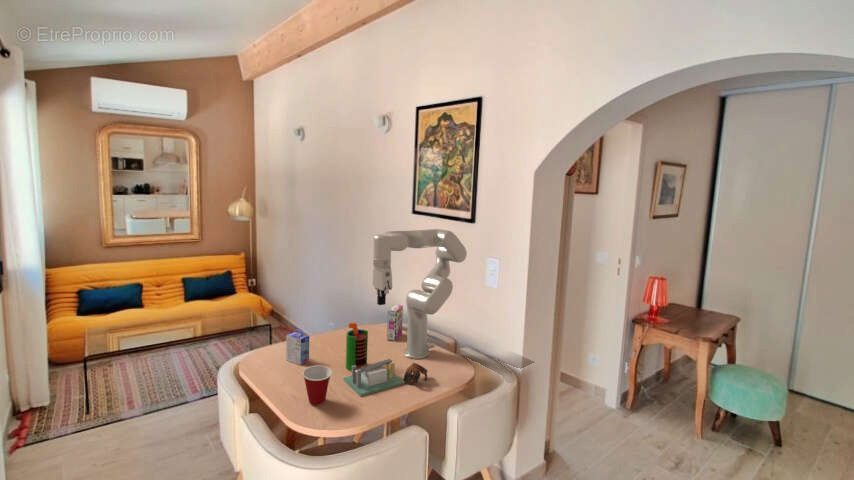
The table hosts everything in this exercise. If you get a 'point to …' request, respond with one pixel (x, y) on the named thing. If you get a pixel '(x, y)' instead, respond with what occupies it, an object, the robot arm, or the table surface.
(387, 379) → the board
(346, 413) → the table surface
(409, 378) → the pottery mug
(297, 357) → the ink cartridge box
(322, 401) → the plastic cup
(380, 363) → the strap
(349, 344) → the motor
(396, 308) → the candy bar box
